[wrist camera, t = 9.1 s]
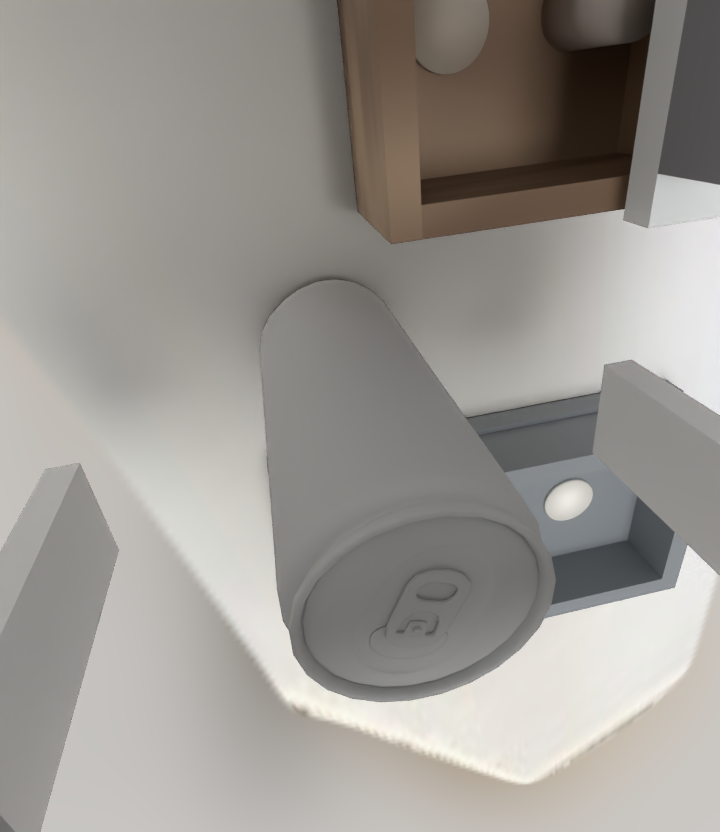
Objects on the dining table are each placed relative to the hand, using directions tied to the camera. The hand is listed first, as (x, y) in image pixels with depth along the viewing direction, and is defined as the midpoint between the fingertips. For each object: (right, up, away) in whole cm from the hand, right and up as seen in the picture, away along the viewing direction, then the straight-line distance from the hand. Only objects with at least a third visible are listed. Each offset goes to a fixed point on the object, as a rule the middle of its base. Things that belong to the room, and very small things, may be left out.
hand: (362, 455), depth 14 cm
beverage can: (-1, +4, +6) cm, 7 cm away
